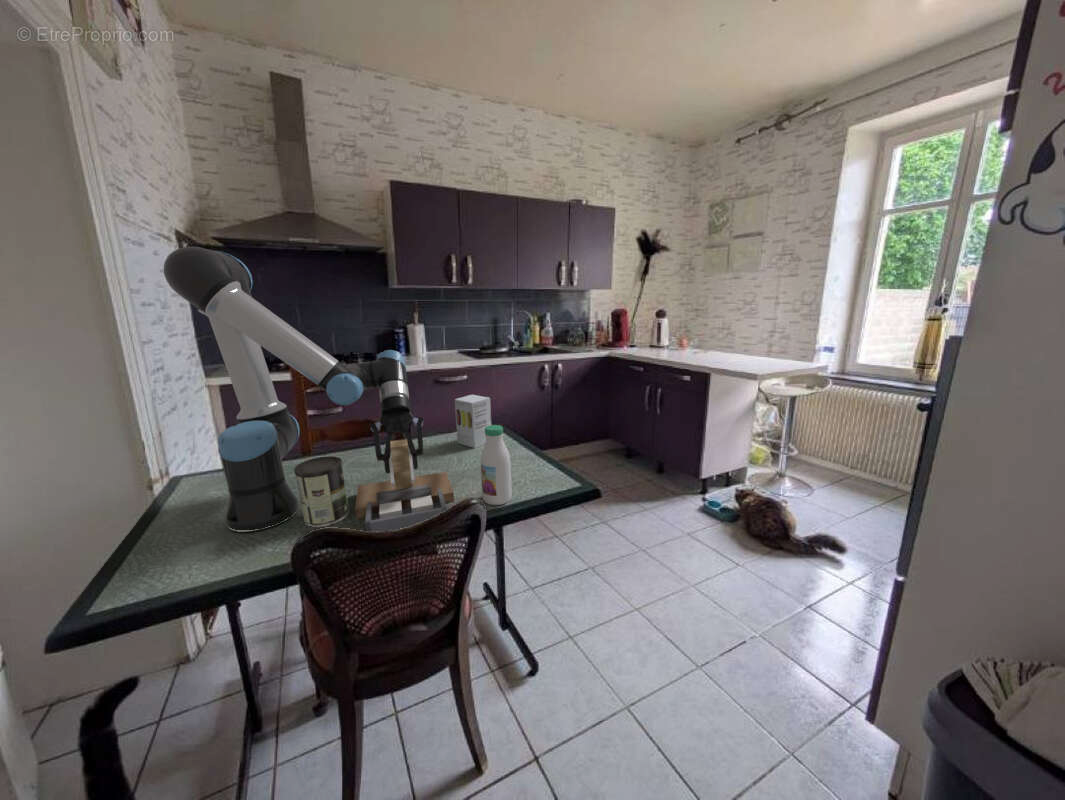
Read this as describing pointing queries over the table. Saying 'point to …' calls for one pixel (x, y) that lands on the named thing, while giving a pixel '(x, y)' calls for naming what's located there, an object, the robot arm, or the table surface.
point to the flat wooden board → (370, 490)
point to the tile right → (421, 504)
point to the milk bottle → (495, 468)
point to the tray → (402, 516)
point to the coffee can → (322, 491)
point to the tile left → (390, 509)
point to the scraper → (402, 477)
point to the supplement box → (472, 419)
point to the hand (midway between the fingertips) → (403, 482)
